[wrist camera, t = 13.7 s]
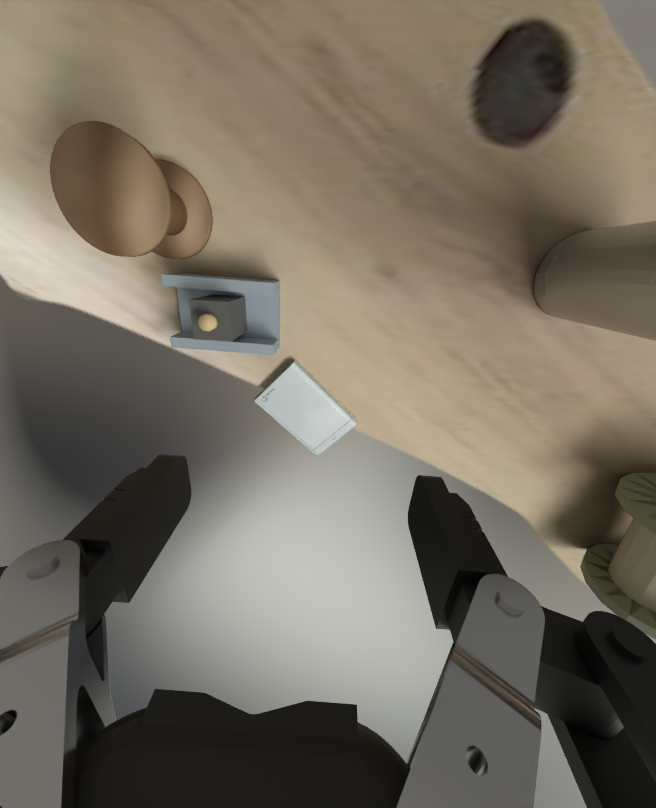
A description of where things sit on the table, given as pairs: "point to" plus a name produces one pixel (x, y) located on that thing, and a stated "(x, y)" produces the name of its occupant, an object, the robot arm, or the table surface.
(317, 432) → the hard drive
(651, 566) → the spool
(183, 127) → the table surface
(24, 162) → the table surface
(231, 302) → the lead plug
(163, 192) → the bobbin
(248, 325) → the blue-gray u-shaped channel
